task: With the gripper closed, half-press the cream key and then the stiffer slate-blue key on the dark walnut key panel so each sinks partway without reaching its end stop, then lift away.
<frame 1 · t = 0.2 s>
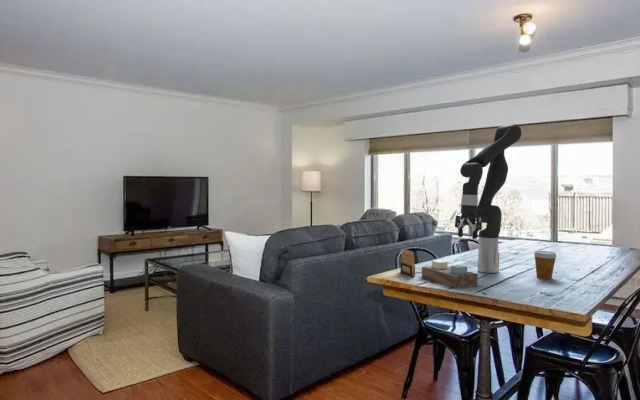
hand: (467, 237, 210), 18 cm above the table, tool pointing down, fingers open, 8 cm apart
disposable coffee cup: (544, 278, 206), on the table
cream key: (439, 265, 200), point 6 cm above the table, slide at 0.0 cm
key panel: (448, 281, 195), on the table
slate key: (458, 270, 189), point 6 cm above the table, slide at 0.0 cm
wooden panel with frame: (407, 275, 208), on the table
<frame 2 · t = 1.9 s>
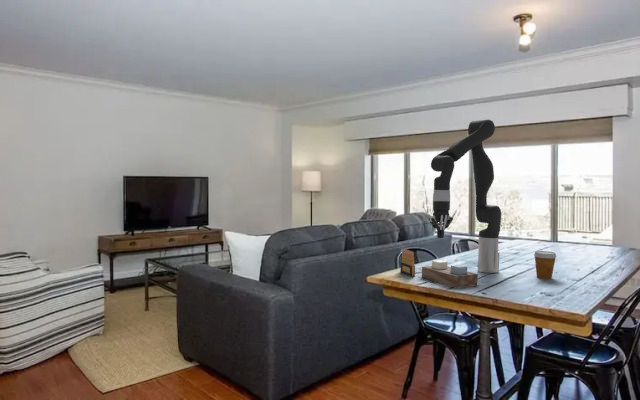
hand: (440, 237, 199), 19 cm above the table, tool pointing down, fingers closed
nothing on the table moved.
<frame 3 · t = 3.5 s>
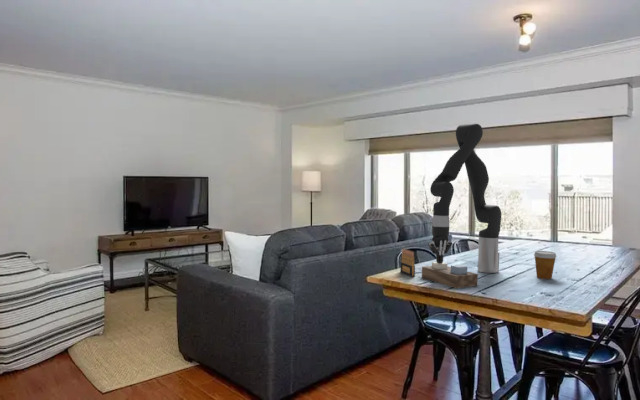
hand: (439, 262, 200), 7 cm above the table, tool pointing down, fingers closed
cream key: (439, 267, 200), point 5 cm above the table, slide at 0.8 cm, touching gripper
everything else where it was.
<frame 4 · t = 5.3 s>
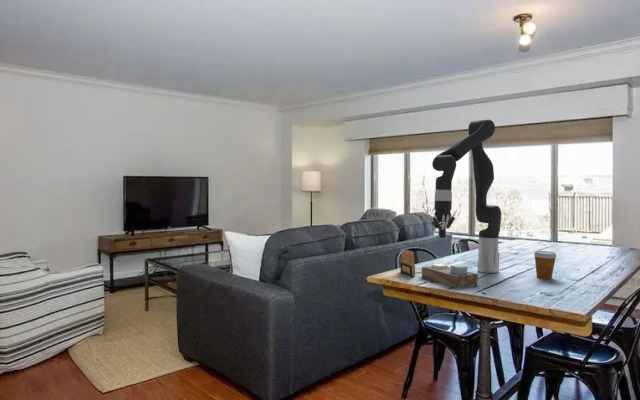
hand: (442, 237, 198), 19 cm above the table, tool pointing down, fingers closed
cream key: (439, 269, 200), point 4 cm above the table, slide at 1.7 cm
everything else where it was.
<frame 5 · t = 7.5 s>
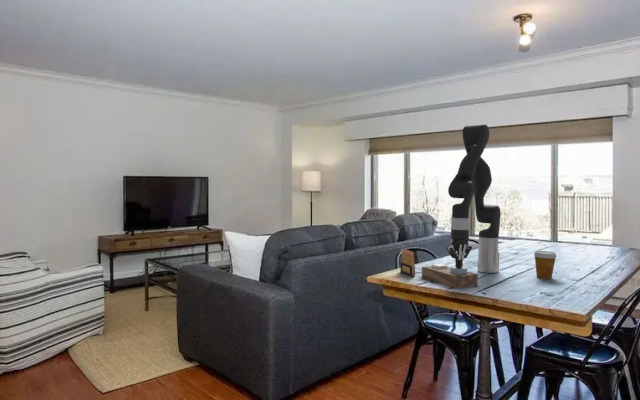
hand: (458, 268, 189), 7 cm above the table, tool pointing down, fingers closed
slate key: (458, 272, 189), point 5 cm above the table, slide at 0.9 cm, touching gripper
everything else where it was.
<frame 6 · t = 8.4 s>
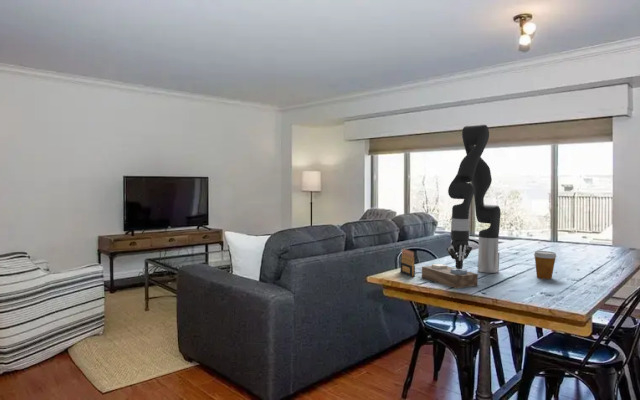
hand: (459, 268, 189), 7 cm above the table, tool pointing down, fingers closed
slate key: (458, 274, 189), point 4 cm above the table, slide at 1.6 cm
everything else where it was.
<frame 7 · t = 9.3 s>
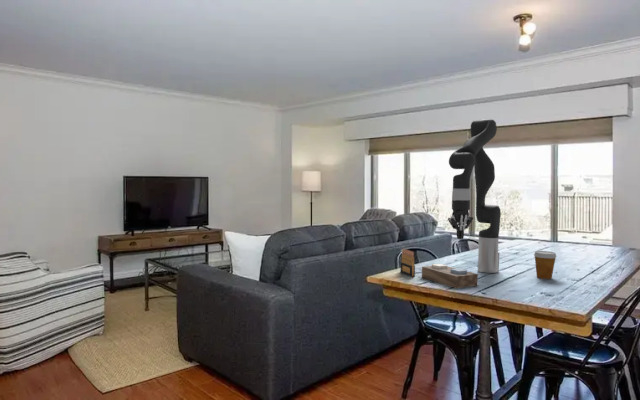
hand: (460, 238, 190), 20 cm above the table, tool pointing down, fingers closed
nothing on the table moved.
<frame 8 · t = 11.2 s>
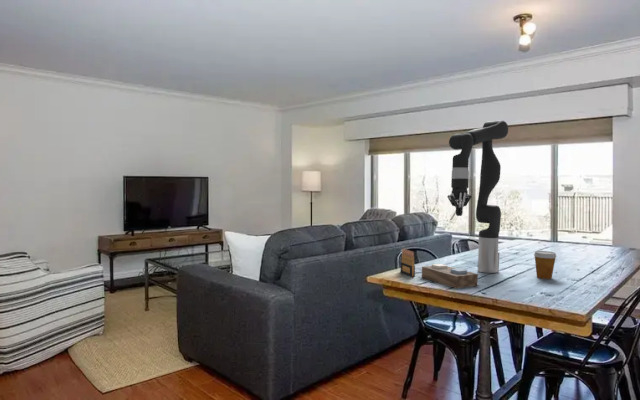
hand: (459, 215, 200), 29 cm above the table, tool pointing down, fingers closed
nothing on the table moved.
at the end: cream key slide at 1.7 cm; slate key slide at 1.6 cm; wooden panel with frame moved 0.3 cm from its start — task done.
